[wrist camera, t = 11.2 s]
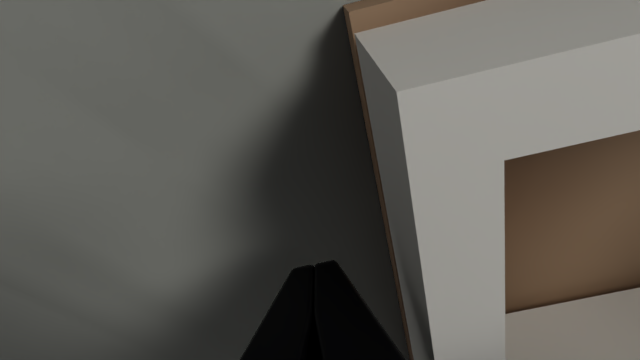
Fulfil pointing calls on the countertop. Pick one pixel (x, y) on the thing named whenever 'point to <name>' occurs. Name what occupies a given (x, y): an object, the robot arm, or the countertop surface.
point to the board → (542, 199)
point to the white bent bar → (494, 162)
